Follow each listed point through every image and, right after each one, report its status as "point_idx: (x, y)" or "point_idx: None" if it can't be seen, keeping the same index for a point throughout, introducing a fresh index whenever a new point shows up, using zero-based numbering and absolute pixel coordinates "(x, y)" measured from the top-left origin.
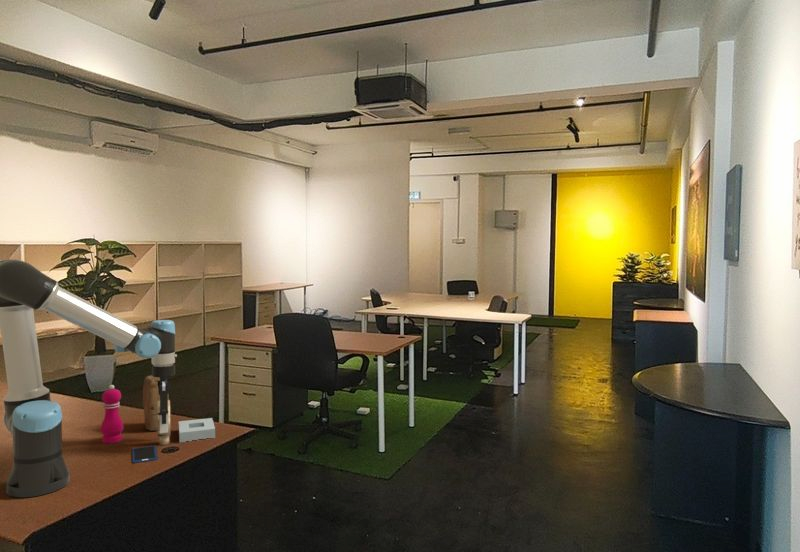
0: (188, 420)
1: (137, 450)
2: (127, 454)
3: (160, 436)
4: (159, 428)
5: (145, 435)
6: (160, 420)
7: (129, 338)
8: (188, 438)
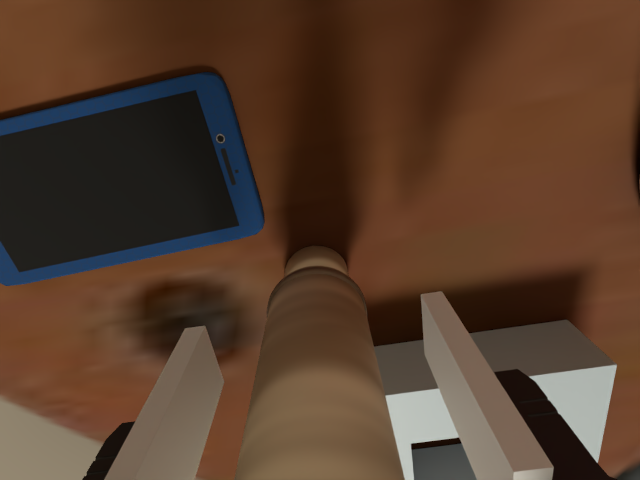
0: (602, 420)
1: (162, 123)
2: (103, 53)
3: (273, 291)
4: (273, 323)
5: (560, 105)
6: (133, 440)
7: None
8: None
